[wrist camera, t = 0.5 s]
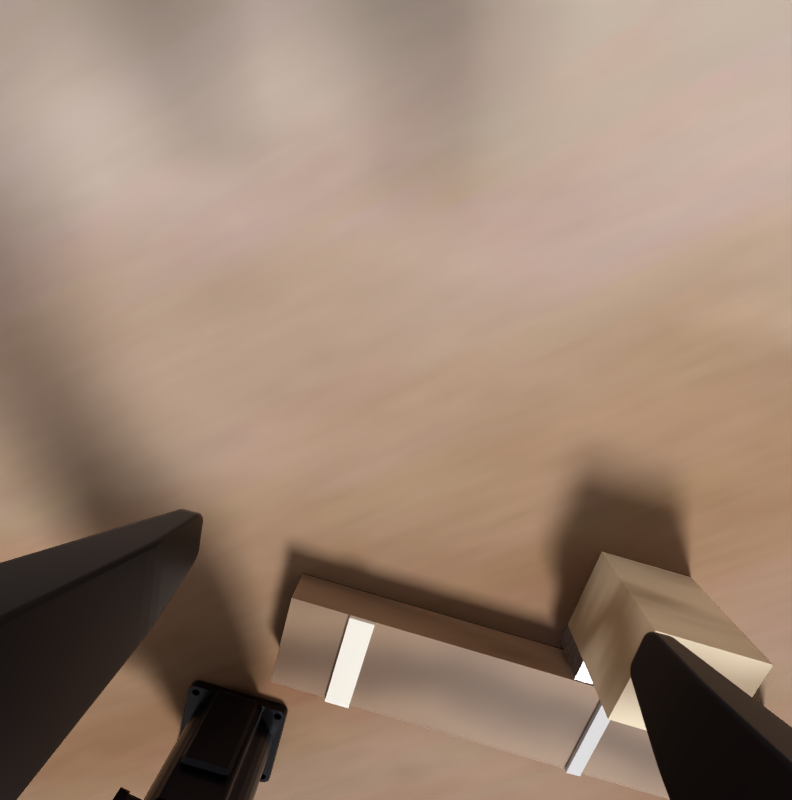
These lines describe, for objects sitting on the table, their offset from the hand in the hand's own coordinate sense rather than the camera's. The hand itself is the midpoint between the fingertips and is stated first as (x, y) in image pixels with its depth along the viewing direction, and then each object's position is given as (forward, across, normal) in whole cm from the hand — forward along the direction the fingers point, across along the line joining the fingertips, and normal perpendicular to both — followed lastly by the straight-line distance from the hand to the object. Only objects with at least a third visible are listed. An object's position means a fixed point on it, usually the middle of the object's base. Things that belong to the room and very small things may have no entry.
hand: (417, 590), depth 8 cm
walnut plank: (+14, -10, +15) cm, 22 cm away
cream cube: (+14, -14, +8) cm, 21 cm away
